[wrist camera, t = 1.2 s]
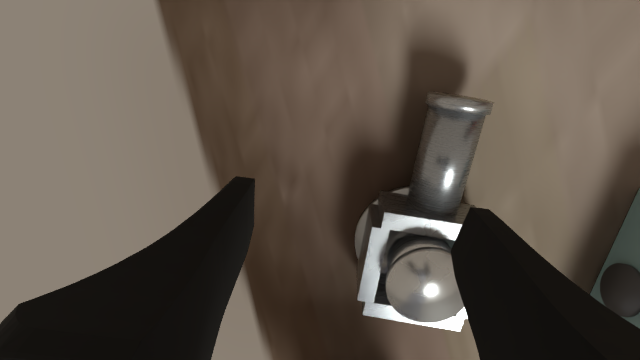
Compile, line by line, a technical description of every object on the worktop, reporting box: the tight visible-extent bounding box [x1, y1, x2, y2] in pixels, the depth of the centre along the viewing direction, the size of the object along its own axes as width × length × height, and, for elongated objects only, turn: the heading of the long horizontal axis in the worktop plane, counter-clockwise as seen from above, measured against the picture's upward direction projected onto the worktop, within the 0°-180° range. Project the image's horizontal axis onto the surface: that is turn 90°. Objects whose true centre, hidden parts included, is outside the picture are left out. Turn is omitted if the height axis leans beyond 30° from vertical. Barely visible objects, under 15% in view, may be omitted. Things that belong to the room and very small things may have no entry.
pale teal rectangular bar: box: [590, 188, 640, 328], centre depth 22 cm, size 12×2×4 cm, turn 172°
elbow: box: [357, 92, 493, 331], centre depth 22 cm, size 14×7×4 cm, turn 172°
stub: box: [355, 186, 464, 323], centre depth 22 cm, size 8×8×6 cm
